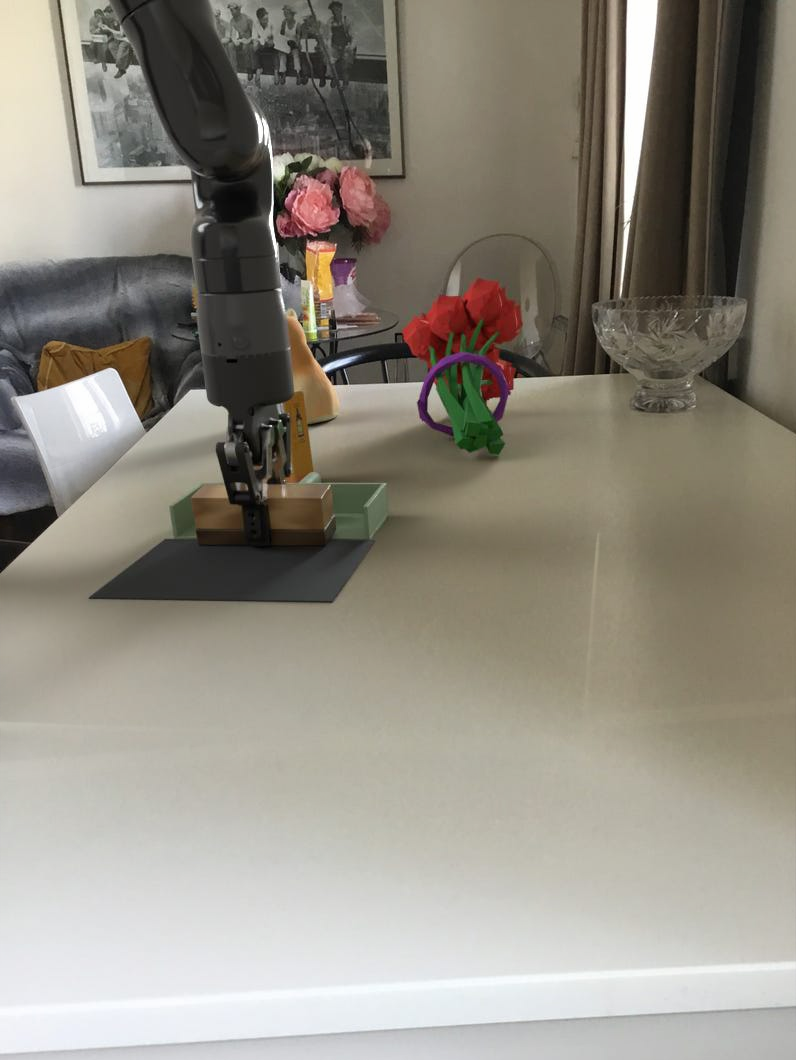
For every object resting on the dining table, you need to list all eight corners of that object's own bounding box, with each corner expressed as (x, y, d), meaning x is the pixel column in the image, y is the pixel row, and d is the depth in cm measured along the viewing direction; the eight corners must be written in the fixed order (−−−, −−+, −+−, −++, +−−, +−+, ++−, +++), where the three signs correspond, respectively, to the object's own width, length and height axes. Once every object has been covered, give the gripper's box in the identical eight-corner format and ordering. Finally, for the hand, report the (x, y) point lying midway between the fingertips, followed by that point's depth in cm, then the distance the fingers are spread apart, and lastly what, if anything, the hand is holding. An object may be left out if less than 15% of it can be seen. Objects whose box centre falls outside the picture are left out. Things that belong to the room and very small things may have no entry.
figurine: (243, 419, 152) (230, 311, 146) (317, 406, 159) (308, 303, 153) (286, 431, 143) (274, 316, 137) (363, 417, 151) (354, 308, 145)
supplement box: (291, 477, 119) (281, 388, 115) (315, 480, 118) (306, 390, 114) (272, 484, 117) (261, 393, 113) (296, 487, 115) (286, 395, 111)
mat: (89, 600, 84) (88, 597, 84) (165, 541, 98) (165, 538, 98) (332, 604, 82) (331, 601, 82) (375, 543, 96) (375, 540, 96)
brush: (197, 545, 96) (189, 498, 94) (212, 528, 99) (205, 483, 97) (326, 546, 94) (320, 498, 92) (336, 529, 98) (331, 483, 96)
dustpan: (369, 541, 96) (367, 506, 95) (174, 539, 99) (168, 505, 97) (403, 494, 111) (401, 463, 110) (232, 494, 114) (228, 463, 112)
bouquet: (419, 511, 127) (405, 412, 152) (554, 502, 129) (518, 406, 153) (412, 353, 116) (398, 273, 140) (560, 345, 117) (520, 268, 142)
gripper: (231, 335, 97) (252, 515, 104) (171, 358, 84) (199, 562, 91) (310, 334, 96) (326, 515, 103) (261, 357, 83) (284, 563, 90)
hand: (267, 536), depth 97 cm, fingers closed on brush, 4 cm apart
